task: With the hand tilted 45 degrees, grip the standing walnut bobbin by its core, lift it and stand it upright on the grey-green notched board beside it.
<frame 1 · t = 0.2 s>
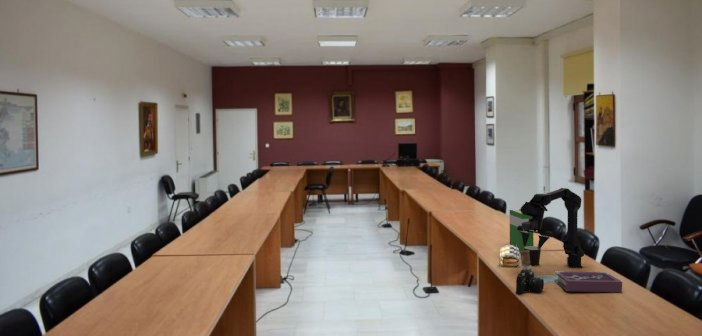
hand: (531, 247, 263), 15 cm above the table, tool tilted 15°, fingers open, 9 cm apart
book: (586, 286, 244), on the table, touching notched board
diorama: (509, 263, 291), on the table
coffee mug: (532, 265, 285), on the table
hardback book: (521, 249, 323), on the table
film camera: (530, 291, 242), on the table
notched board: (548, 280, 256), on the table
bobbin: (527, 275, 264), point 1 cm above the table, tilted 10°, touching notched board
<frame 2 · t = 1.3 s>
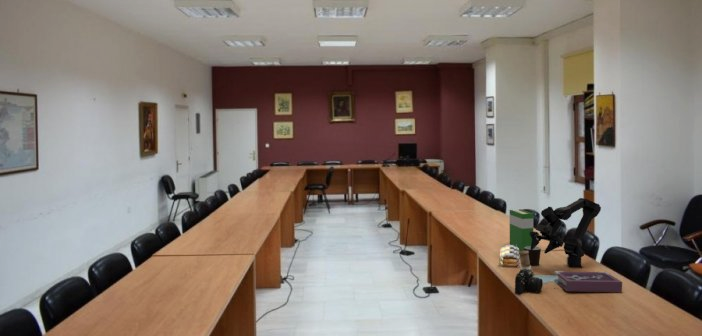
hand: (537, 251, 266), 12 cm above the table, tool tilted 45°, fingers open, 9 cm apart
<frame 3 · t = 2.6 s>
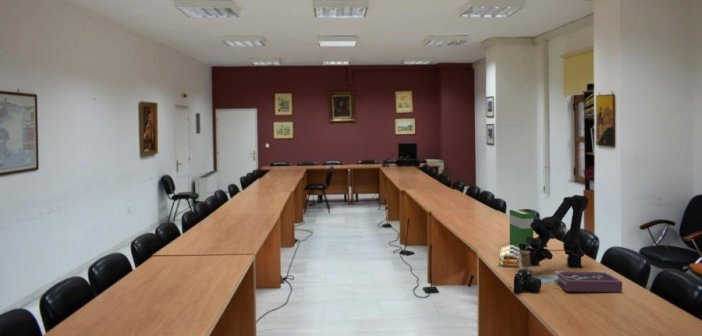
hand: (526, 263, 263), 7 cm above the table, tool tilted 45°, fingers open, 5 cm apart
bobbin: (527, 274, 264), point 1 cm above the table, tilted 8°, touching gripper, notched board
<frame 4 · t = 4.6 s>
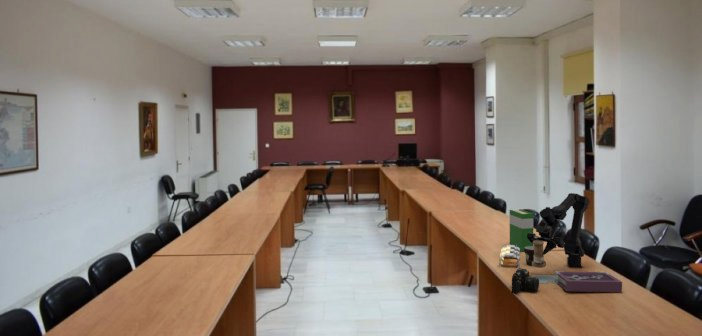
hand: (538, 253, 257), 13 cm above the table, tool tilted 45°, fingers closed on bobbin, 4 cm apart
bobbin: (539, 264, 258), point 7 cm above the table, tilted 10°, touching gripper
when the fingers open (9 cm above the table, at t = 6.1 s): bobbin drops 2 cm, resting on notched board.
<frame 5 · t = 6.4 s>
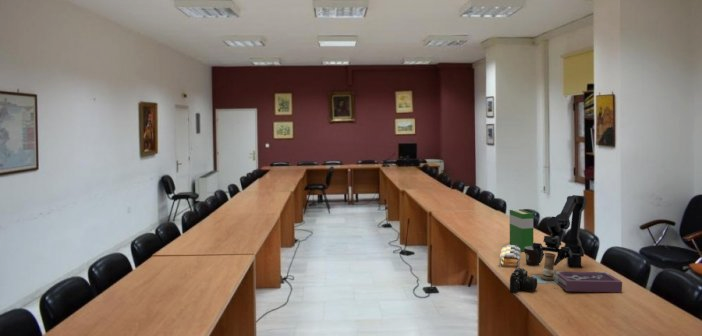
hand: (546, 264, 254), 9 cm above the table, tool tilted 45°, fingers open, 7 cm apart
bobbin: (547, 278, 255), point 1 cm above the table, tilted 7°, touching notched board
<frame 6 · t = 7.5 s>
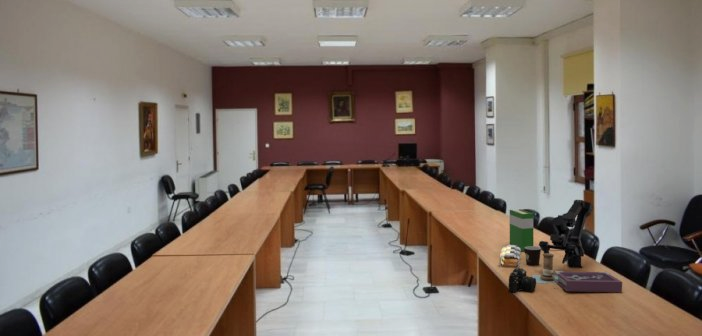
hand: (553, 261, 260), 8 cm above the table, tool tilted 45°, fingers open, 9 cm apart
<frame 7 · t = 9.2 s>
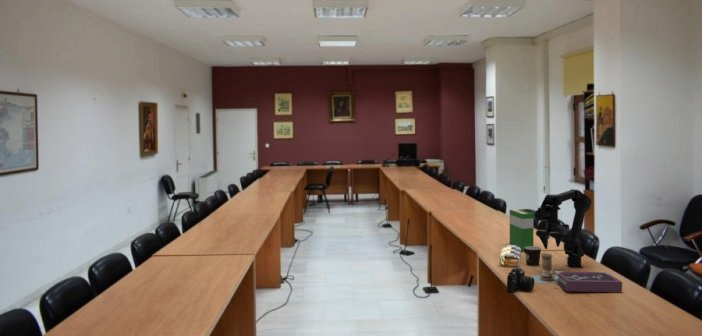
hand: (552, 247, 270), 13 cm above the table, tool pointing down, fingers open, 9 cm apart
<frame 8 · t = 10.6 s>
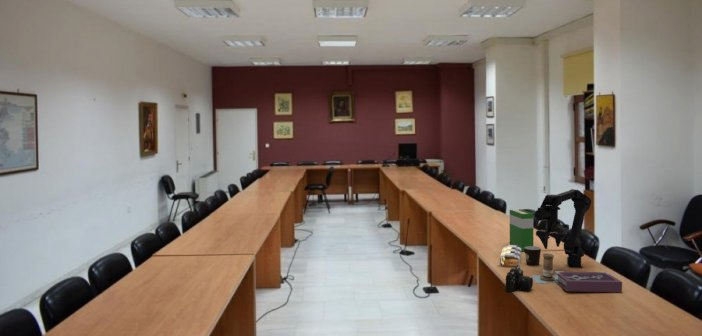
hand: (552, 247, 270), 13 cm above the table, tool pointing down, fingers open, 9 cm apart
at the end: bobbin inside the target area on the notched board (0.4 cm from its centre), point 0.9 cm above the notched board's base; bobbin tilted 2°; the gripper is holding nothing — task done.
